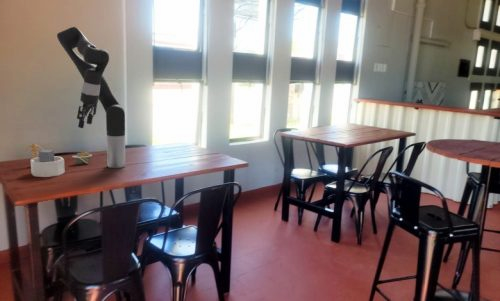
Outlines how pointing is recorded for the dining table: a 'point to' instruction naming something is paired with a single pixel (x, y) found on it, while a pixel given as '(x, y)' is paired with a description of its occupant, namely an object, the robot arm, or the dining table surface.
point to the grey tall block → (46, 156)
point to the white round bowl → (47, 167)
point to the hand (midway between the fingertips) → (84, 125)
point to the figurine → (34, 149)
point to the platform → (82, 158)
